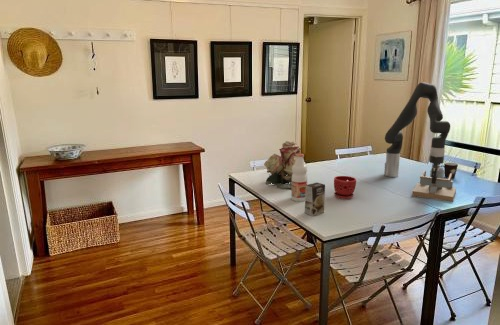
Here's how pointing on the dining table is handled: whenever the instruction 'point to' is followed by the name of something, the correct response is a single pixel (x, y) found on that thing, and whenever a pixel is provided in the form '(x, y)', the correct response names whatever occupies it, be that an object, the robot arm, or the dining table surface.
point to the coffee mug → (450, 169)
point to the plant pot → (344, 187)
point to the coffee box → (314, 199)
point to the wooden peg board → (435, 190)
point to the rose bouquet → (282, 165)
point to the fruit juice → (299, 179)
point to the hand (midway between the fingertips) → (434, 181)
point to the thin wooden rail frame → (439, 181)
